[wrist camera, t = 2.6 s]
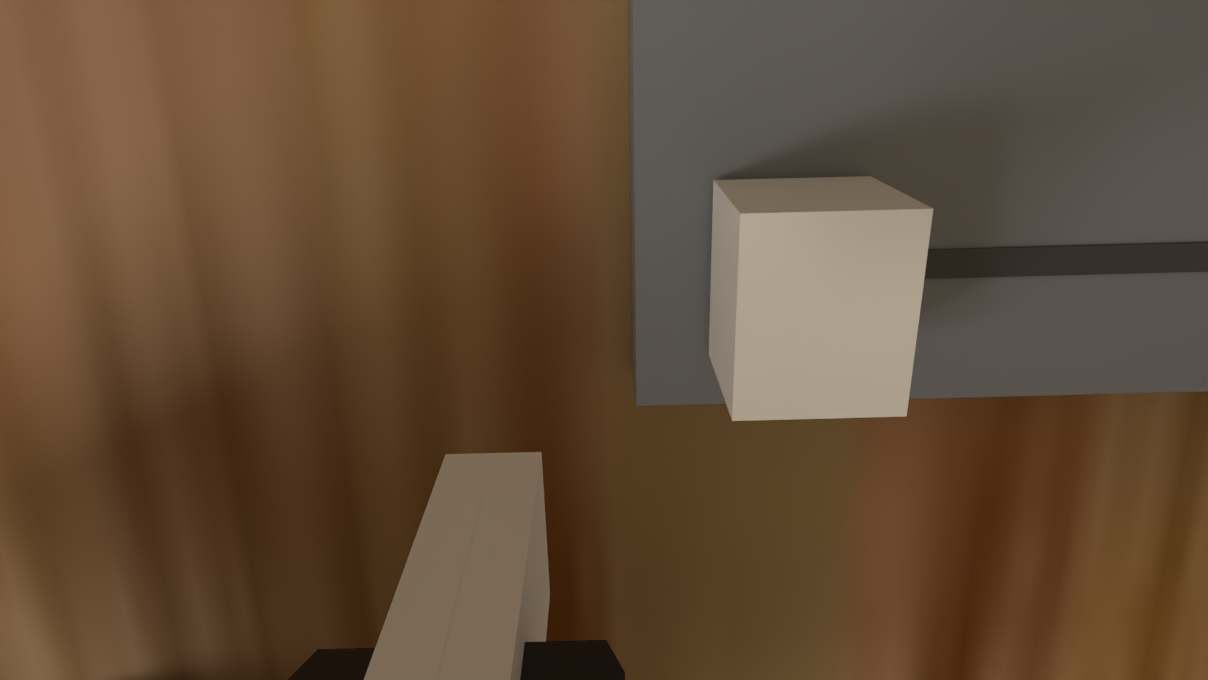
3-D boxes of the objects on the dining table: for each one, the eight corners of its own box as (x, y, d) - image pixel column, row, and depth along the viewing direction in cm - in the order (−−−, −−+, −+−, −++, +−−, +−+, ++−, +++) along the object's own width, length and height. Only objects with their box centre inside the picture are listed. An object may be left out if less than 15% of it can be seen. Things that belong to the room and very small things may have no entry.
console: (632, 372, 31) (636, 407, 28) (623, -408, 22) (628, -474, 19) (1294, 355, 31) (1366, 388, 28) (1544, -431, 22) (1686, -501, 19)
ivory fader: (708, 354, 27) (732, 420, 23) (713, 180, 25) (740, 213, 20) (853, 350, 27) (906, 416, 23) (870, 176, 25) (933, 208, 20)
